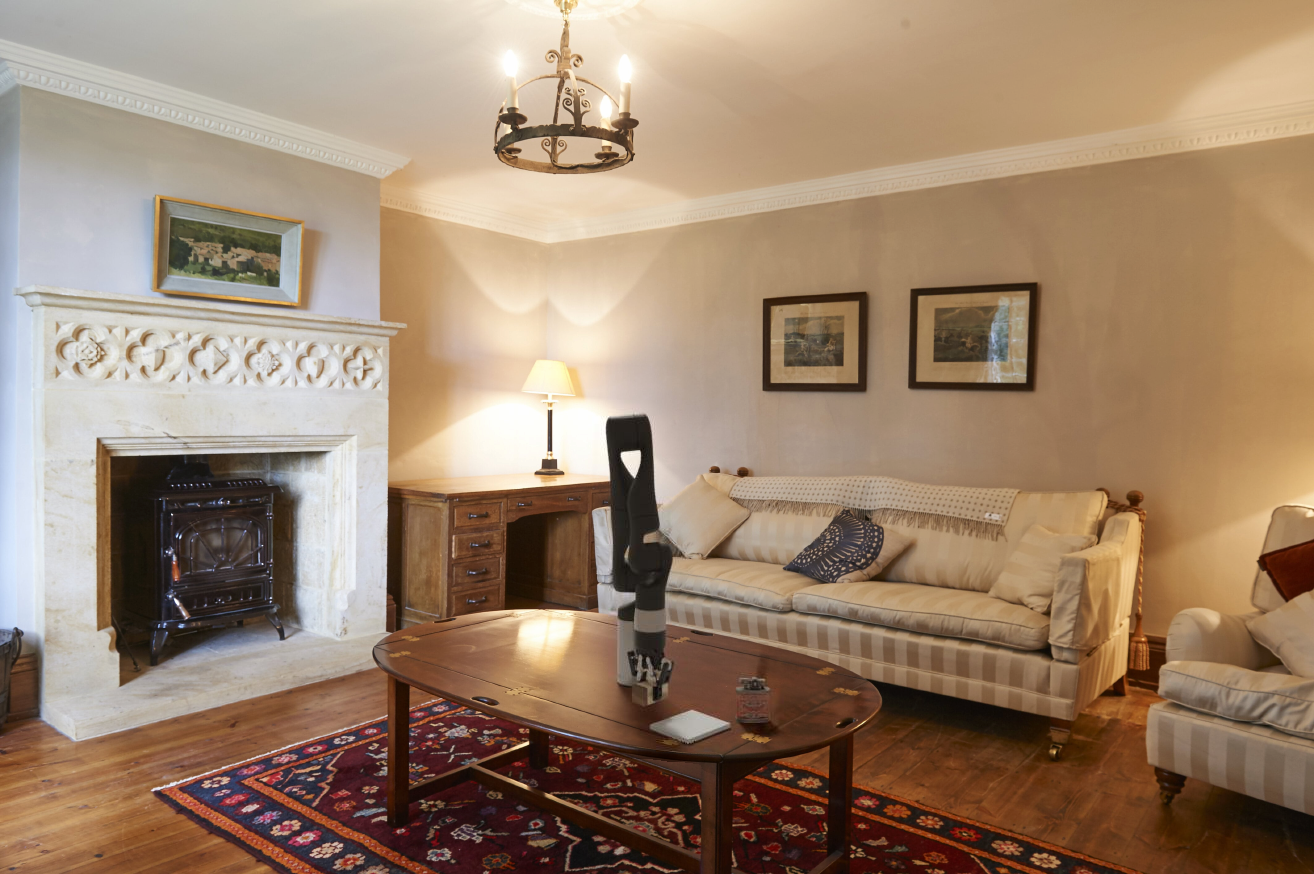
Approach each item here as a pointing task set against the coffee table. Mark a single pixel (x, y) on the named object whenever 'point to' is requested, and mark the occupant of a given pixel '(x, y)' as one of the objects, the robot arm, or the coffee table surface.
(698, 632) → the coffee table surface
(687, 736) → the mat
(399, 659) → the coffee table surface
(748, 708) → the lighter
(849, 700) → the coffee table surface
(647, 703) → the block
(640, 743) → the coffee table surface
